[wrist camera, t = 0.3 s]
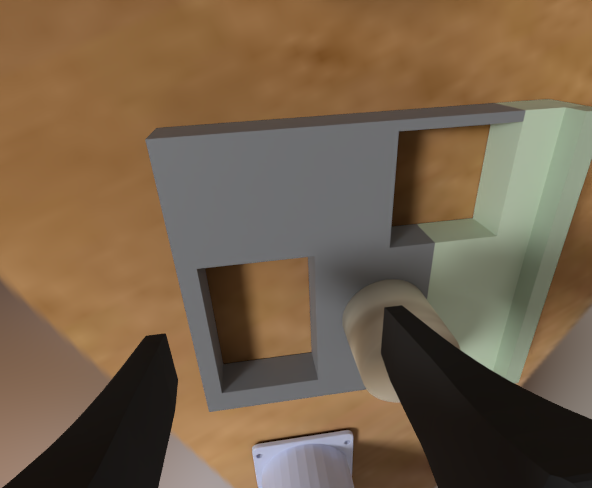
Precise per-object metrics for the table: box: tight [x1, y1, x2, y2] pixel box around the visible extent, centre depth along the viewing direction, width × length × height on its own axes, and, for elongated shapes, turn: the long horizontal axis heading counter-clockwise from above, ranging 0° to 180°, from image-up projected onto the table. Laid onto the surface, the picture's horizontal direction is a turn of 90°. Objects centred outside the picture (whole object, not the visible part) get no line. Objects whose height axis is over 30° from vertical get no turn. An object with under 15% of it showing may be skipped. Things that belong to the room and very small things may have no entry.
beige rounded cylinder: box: [342, 279, 460, 402], centre depth 20 cm, size 5×5×4 cm
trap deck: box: [145, 99, 592, 412], centre depth 21 cm, size 17×20×4 cm
